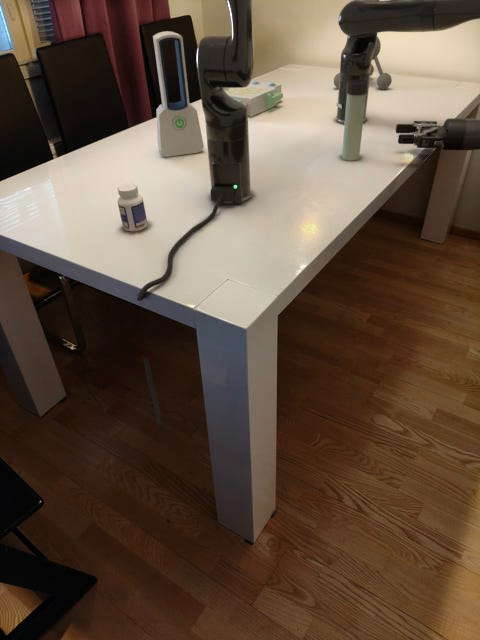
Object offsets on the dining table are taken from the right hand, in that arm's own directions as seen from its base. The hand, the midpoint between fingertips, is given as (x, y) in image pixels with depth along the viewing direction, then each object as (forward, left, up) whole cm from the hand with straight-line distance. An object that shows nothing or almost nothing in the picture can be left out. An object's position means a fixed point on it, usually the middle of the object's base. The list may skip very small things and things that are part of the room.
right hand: (397, 133), depth 126 cm
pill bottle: (+45, -57, -6) cm, 73 cm away
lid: (0, -11, +12) cm, 17 cm away
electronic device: (-3, -60, -6) cm, 60 cm away
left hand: (-8, -24, +30) cm, 39 cm away
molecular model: (-81, -8, -6) cm, 81 cm away
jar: (0, -11, -6) cm, 13 cm away
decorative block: (-48, -47, -6) cm, 68 cm away
